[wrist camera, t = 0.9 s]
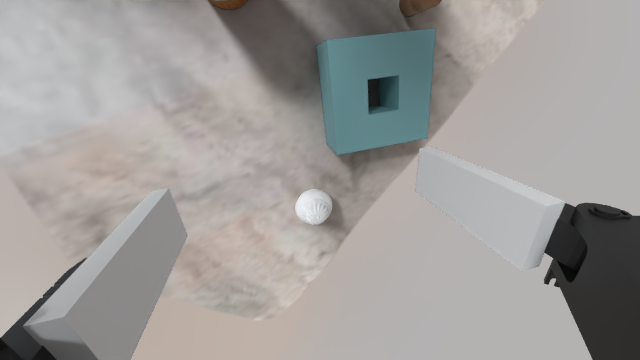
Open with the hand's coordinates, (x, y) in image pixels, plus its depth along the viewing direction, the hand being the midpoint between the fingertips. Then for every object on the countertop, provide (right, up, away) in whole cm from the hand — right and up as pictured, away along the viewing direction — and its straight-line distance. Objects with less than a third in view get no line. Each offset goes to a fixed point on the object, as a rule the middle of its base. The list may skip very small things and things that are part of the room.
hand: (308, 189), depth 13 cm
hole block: (+8, +14, +24) cm, 29 cm away
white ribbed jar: (-1, -3, +29) cm, 29 cm away
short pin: (+13, +25, +20) cm, 35 cm away
